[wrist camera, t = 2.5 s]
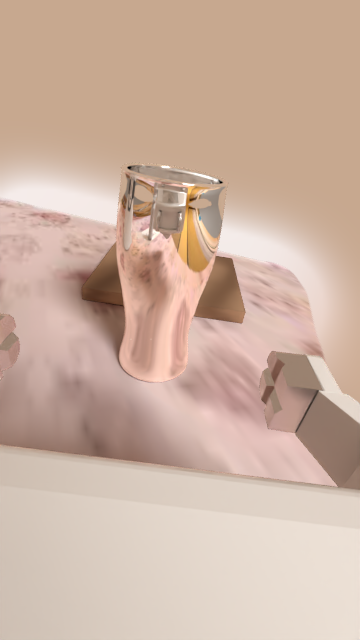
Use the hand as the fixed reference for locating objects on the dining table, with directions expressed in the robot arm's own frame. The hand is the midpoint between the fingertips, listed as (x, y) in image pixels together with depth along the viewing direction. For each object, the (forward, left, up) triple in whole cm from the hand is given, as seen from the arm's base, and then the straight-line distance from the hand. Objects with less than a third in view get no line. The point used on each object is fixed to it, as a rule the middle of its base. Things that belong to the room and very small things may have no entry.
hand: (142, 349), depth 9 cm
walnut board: (0, +29, -11) cm, 31 cm away
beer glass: (0, +13, -11) cm, 17 cm away
